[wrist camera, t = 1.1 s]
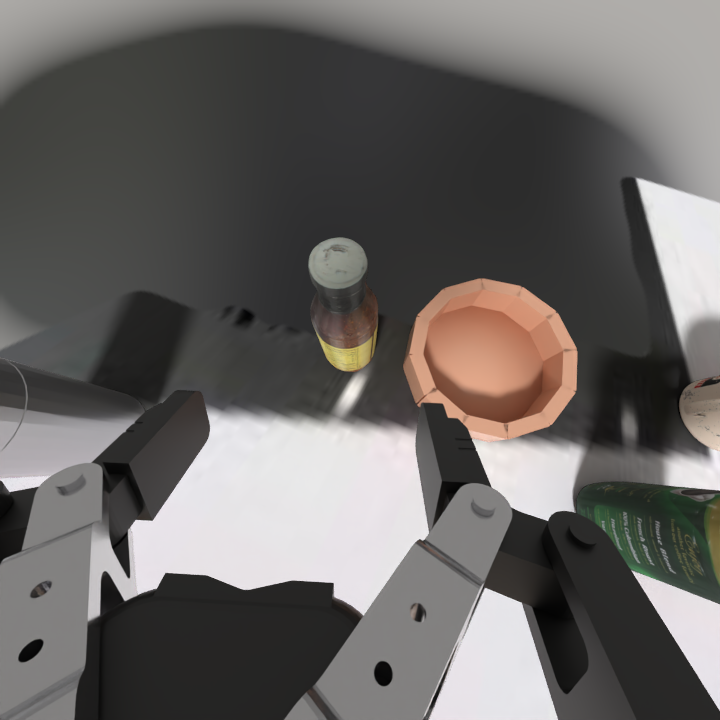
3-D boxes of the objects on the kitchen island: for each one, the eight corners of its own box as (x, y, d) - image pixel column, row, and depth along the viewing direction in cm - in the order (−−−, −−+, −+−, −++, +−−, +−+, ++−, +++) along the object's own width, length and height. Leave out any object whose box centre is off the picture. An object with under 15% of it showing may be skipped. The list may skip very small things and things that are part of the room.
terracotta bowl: (392, 419, 37) (397, 413, 33) (418, 288, 43) (426, 266, 38) (545, 455, 36) (574, 454, 32) (553, 316, 42) (578, 297, 37)
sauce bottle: (344, 319, 41) (332, 201, 22) (384, 345, 40) (407, 244, 21) (313, 358, 40) (273, 266, 21) (354, 386, 39) (350, 316, 20)
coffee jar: (581, 562, 33) (839, 681, 15) (565, 482, 36) (772, 504, 18) (673, 560, 33) (1031, 674, 16) (650, 479, 36) (939, 499, 18)
